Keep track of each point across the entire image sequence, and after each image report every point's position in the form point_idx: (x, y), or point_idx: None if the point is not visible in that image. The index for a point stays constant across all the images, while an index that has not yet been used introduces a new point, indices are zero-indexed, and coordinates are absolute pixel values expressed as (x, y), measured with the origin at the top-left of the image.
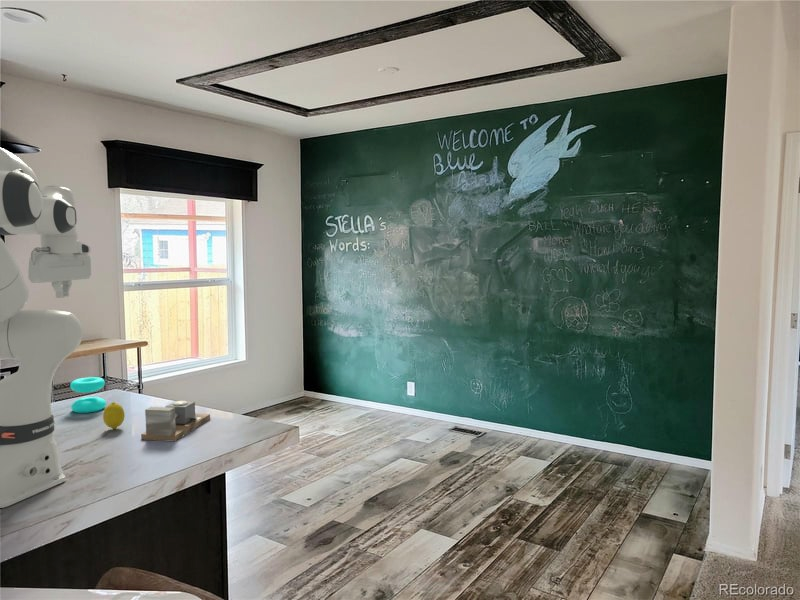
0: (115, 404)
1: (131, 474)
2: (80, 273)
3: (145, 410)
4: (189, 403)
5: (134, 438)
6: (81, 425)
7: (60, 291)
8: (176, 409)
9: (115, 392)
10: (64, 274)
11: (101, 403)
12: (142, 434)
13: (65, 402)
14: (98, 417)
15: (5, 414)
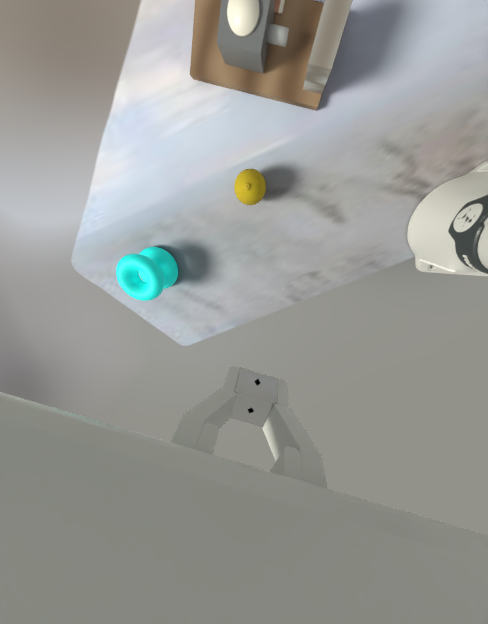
0: (250, 180)
1: None
2: (9, 475)
3: (331, 69)
4: None
5: (306, 128)
6: (230, 247)
7: (286, 411)
8: (267, 19)
9: (78, 263)
10: (297, 564)
11: (157, 250)
12: (318, 103)
13: (134, 307)
14: (194, 238)
15: None
